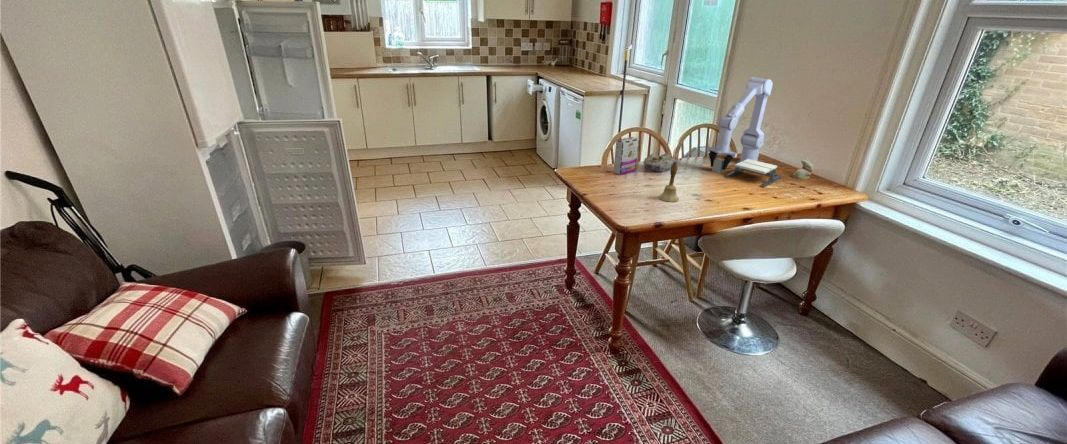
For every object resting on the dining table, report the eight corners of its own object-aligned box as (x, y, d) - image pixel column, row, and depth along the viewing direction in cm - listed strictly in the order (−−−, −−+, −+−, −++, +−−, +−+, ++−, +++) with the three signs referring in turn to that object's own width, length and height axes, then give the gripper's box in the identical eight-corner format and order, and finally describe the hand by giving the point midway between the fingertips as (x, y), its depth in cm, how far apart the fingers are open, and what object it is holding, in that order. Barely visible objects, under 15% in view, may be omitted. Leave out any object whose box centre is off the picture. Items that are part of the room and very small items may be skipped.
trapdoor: (747, 160, 227) (748, 158, 226) (776, 167, 217) (777, 165, 217) (734, 166, 218) (735, 164, 217) (764, 174, 209) (765, 171, 208)
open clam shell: (809, 180, 219) (815, 160, 214) (791, 177, 223) (797, 157, 218) (810, 177, 223) (816, 157, 219) (793, 174, 227) (798, 154, 222)
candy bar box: (628, 168, 228) (632, 136, 221) (635, 171, 224) (640, 138, 217) (612, 172, 222) (615, 139, 215) (619, 175, 218) (623, 142, 211)
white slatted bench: (743, 169, 232) (746, 156, 229) (780, 178, 220) (784, 165, 218) (725, 177, 220) (728, 164, 217) (763, 187, 208) (767, 174, 205)
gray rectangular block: (715, 169, 230) (718, 158, 228) (723, 171, 228) (725, 160, 225) (711, 171, 228) (714, 159, 225) (719, 173, 225) (721, 161, 223)
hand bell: (663, 193, 199) (669, 158, 192) (682, 198, 194) (688, 162, 187) (655, 198, 193) (660, 162, 186) (674, 204, 188) (680, 167, 181)
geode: (638, 179, 229) (667, 181, 220) (634, 164, 224) (664, 165, 215) (652, 160, 239) (680, 161, 229) (648, 145, 233) (677, 145, 224)
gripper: (705, 139, 224) (700, 166, 229) (734, 146, 214) (728, 173, 220) (712, 137, 228) (707, 163, 234) (741, 143, 219) (735, 170, 224)
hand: (718, 168), depth 227 cm, fingers open, 6 cm apart
